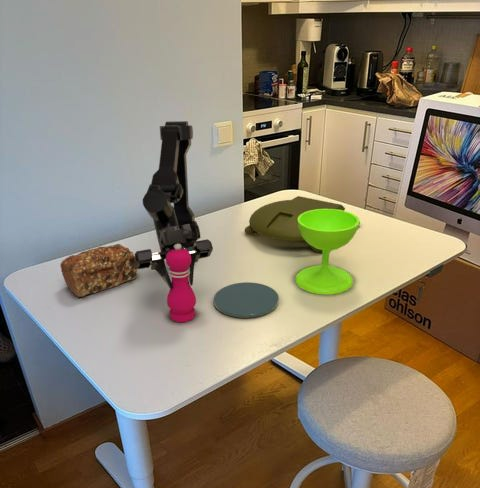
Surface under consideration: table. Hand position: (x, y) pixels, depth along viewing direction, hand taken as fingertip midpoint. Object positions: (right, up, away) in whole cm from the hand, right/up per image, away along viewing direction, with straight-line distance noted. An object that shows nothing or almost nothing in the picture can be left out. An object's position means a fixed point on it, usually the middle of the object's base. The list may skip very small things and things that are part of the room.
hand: (181, 287), depth 119 cm
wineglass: (+38, +3, +20) cm, 43 cm away
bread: (-25, +3, +22) cm, 34 cm away
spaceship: (+34, +22, +49) cm, 63 cm away
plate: (+16, -3, +11) cm, 20 cm away
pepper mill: (-1, -7, +6) cm, 9 cm away
